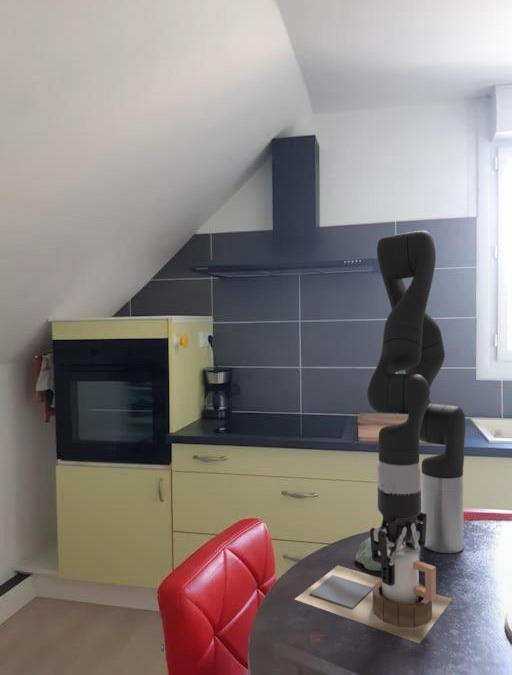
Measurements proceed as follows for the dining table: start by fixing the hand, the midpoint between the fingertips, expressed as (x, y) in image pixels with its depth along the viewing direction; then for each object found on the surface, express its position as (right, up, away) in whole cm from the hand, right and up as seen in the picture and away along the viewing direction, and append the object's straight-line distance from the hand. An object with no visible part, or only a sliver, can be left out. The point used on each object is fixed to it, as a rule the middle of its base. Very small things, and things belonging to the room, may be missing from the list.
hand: (399, 577), depth 97 cm
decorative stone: (+3, -7, +20) cm, 21 cm away
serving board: (-4, -7, +4) cm, 9 cm away
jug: (+1, -6, -1) cm, 6 cm away
